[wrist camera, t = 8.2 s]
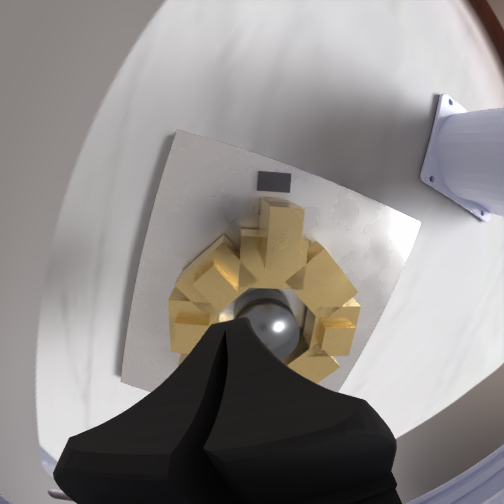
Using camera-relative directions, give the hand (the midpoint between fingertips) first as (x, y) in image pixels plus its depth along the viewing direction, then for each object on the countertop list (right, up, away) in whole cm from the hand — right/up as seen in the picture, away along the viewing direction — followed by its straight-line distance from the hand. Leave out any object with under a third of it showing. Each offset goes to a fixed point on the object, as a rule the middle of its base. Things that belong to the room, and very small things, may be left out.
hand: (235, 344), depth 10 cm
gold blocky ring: (+1, 0, +10) cm, 10 cm away
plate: (+1, -1, +11) cm, 11 cm away
